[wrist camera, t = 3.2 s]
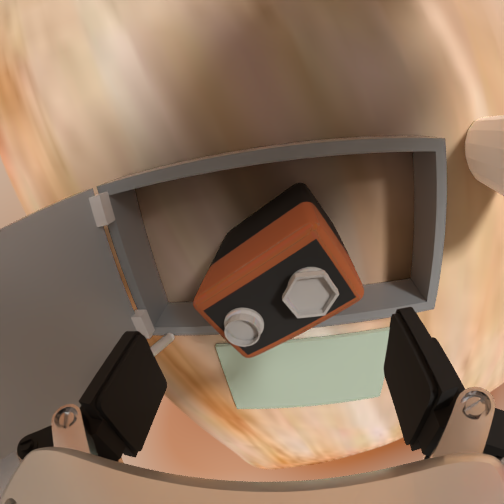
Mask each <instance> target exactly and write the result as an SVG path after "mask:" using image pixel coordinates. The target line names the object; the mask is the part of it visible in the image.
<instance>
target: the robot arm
mask: <svg viewBox="0 0 504 504" xmlns="http://www.w3.org/2000/svg"><path fill="white" fill-rule="evenodd" d="M384 375H385V378H386V381H387V384H388V387H389V390H390V394H391V397H392V400H393V403H394V406H395V410H396V413H397V416H398V420H399V423H400V426H401V430H402V434H403V437H404V441H405V443H406V445H409V444H410V446H411V450H412V451H414V450H417V449H420V448H421V450H422V453H423V454H424V455H425V456H424V457H423V459H422V460H421V461H417V462H413V463H408V464H404V465H400V466H396V467H391V468H387V469H383V470H378V471H372V472H367V473H361V474H355V475H349V476H343V477H336V478H328V479H318V480H306V481H290V482H243V481H225V480H213V479H204V478H195V477H188V476H182V475H175V474H169V473H164V472H159V471H154V470H149V469H145V468H140V467H136V466H132V465H128V464H124V463H123V460H122V458H121V456H122V454H123V453H124V455H128V456H132V457H136V455H137V453H138V451H141V450H142V448H143V445H144V442H145V440H146V437H147V435H148V432H149V430H150V427H151V425H152V422H153V420H154V417H155V415H156V413H157V410H158V408H159V405H160V403H161V400H162V398H163V395H164V393H165V391H166V388H167V382H166V379H165V377H164V375H163V373H162V371H161V369H160V367H159V365H158V363H157V361H156V359H155V357H154V355H153V353H152V351H151V348H150V346H149V344H148V342H147V340H146V337H145V336H144V335H142V334H141V333H140V332H139V331H126V332H125V333H124V334H123V335H122V337H121V338H120V340H119V341H118V342H117V344H116V345H115V347H114V348H113V350H112V351H111V353H110V354H109V355H108V357H107V358H106V360H105V361H104V363H103V364H102V366H101V367H100V369H99V370H98V372H97V373H96V375H95V376H94V378H93V379H92V381H91V383H90V384H89V386H88V387H87V389H86V390H85V392H84V393H83V395H82V396H81V398H80V400H79V401H78V402H79V403H80V404H81V407H80V408H79V407H78V406H77V405H74V404H66V405H63V406H61V407H60V408H58V409H57V410H56V411H55V413H54V414H53V416H52V420H51V426H48V427H46V428H43V429H41V430H39V431H36V432H34V433H31V434H29V435H26V436H25V437H23V438H22V439H21V440H20V442H19V443H18V447H17V452H16V451H15V450H14V451H13V452H11V453H10V454H9V455H7V456H6V457H5V458H3V459H2V460H1V461H0V504H504V411H503V410H500V409H497V408H495V401H494V398H493V396H492V395H491V394H490V393H489V392H488V391H487V390H485V389H483V388H479V387H472V388H468V389H466V390H465V388H464V386H463V384H462V383H461V381H460V379H459V377H458V375H457V373H456V372H455V370H454V368H453V366H452V364H451V363H450V361H449V359H448V357H447V356H446V354H445V352H444V351H443V349H442V347H441V346H440V344H439V342H438V341H437V340H436V338H431V336H430V334H429V333H428V331H427V329H426V328H425V326H424V325H423V323H422V321H421V320H420V318H419V317H418V315H417V314H416V312H415V310H414V309H413V308H412V307H406V308H401V309H397V310H396V313H395V314H392V316H391V322H390V330H389V337H388V344H387V350H386V356H385V362H384Z"/></svg>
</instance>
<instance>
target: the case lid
mask: <svg viewBox="0 0 504 504" xmlns="http://www.w3.org/2000/svg"><path fill="white" fill-rule="evenodd" d="M92 196H95V195H94V192H93V188H92V189H89V190H85V191H83V192H80V193H78V194H75V195H73V196H70V197H68V198H65V199H63V200H61V201H58V202H56V203H54V204H51V205H49V206H47V207H45V208H42V209H40V210H38V211H36V212H34V213H32V214H30V215H27V216H25V217H23V218H21V219H19V220H17V221H15V222H13V223H11V224H9V225H8V226H5V227H3V228H2V229H0V461H1V460H2V459H3V458H5V457H6V456H7V455H9V454H10V453H11V452H13V451H14V450H15V451H16V452H17V447H18V443H19V442H20V440H21V439H22V438H23V437H25V436H26V435H29V434H31V433H34V432H36V431H39V430H41V429H43V428H46V427H48V426H51V420H52V416H53V414H54V413H55V411H56V410H57V409H58V408H60V407H61V406H63V405H66V404H74V405H77V406H78V407H79V408H80V407H81V404H80V403H79V402H78V401H79V400H80V398H81V396H82V395H83V393H84V392H85V390H86V389H87V387H88V386H89V384H90V383H91V381H92V379H93V378H94V376H95V375H96V373H97V372H98V370H99V369H100V367H101V366H102V364H103V363H104V361H105V360H106V358H107V357H108V355H109V354H110V353H111V351H112V350H113V348H114V347H115V345H116V344H117V342H118V341H119V340H120V338H121V337H122V335H123V334H124V333H125V332H126V331H137V330H136V328H135V326H134V324H133V321H132V319H131V316H133V315H134V314H135V312H134V310H133V308H132V305H131V303H130V300H129V298H128V295H127V293H126V290H125V288H124V285H123V283H122V280H121V277H120V275H119V272H118V269H117V266H116V264H115V261H114V258H113V255H112V252H111V249H110V246H109V243H108V240H107V237H106V234H105V230H104V227H103V226H101V227H97V225H96V222H95V219H94V215H93V212H92V208H91V205H90V201H89V198H90V197H92Z"/></svg>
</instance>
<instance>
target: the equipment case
mask: <svg viewBox="0 0 504 504" xmlns="http://www.w3.org/2000/svg"><path fill="white" fill-rule="evenodd" d="M383 152H413V167H414V237H413V254H412V266H411V277H410V278H409V279H403V280H396V281H389V282H382V283H375V284H368V285H363V288H364V295H363V297H362V299H361V300H359V301H358V302H356V303H355V304H353V305H351V306H350V307H348V308H346V309H345V310H343V311H341V312H339V313H338V314H336V315H334V316H332V317H331V318H329V319H327V320H325V321H323V322H322V323H320V324H318V325H316V326H314V327H323V326H332V325H340V324H348V323H355V322H362V321H369V320H376V319H382V318H388V317H391V316H392V314H395V313H396V310H397V309H401V308H406V307H412V308H413V309H414V310H415V312H421V311H427V310H431V309H434V307H435V302H436V296H437V291H438V285H439V279H440V272H441V265H442V257H443V248H444V238H445V225H446V205H447V162H446V143H445V138H437V137H429V136H369V137H350V138H336V139H324V140H313V141H303V142H295V143H286V144H278V145H271V146H264V147H257V148H251V149H245V150H239V151H233V152H227V153H222V154H216V155H211V156H206V157H201V158H196V159H192V160H187V161H183V162H178V163H174V164H170V165H165V166H161V167H157V168H153V169H149V170H145V171H142V172H138V173H134V174H131V175H127V176H123V177H121V178H118V179H115V180H113V181H110V182H107V183H105V184H102V185H100V186H97V189H98V193H99V194H96V195H95V196H92V197H90V198H89V201H90V205H91V208H92V212H93V215H94V219H95V222H96V225H97V227H101V226H105V225H108V229H109V232H110V235H111V238H112V241H113V244H114V247H115V250H116V253H117V256H118V259H119V262H120V265H121V268H122V271H123V273H124V276H125V279H126V281H127V284H128V287H129V289H130V292H131V294H132V297H133V299H134V302H135V304H136V307H137V309H138V310H135V311H134V312H135V314H134V315H133V316H131V319H132V321H133V324H134V326H135V328H136V330H137V331H139V332H140V333H141V334H142V335H144V336H145V337H146V338H151V337H152V335H165V336H163V337H162V338H161V339H160V340H158V341H157V342H156V343H155V344H154V345H152V346H151V347H150V348H151V351H152V353H153V355H154V357H155V356H156V355H157V354H158V353H159V352H161V351H162V350H163V349H164V348H165V347H166V346H168V345H169V344H170V343H171V342H172V341H173V340H174V335H216V334H219V333H218V332H217V331H216V330H215V329H214V328H213V327H212V326H211V325H210V324H209V323H208V322H207V321H206V320H205V319H204V318H203V317H202V316H201V315H200V314H199V313H198V311H197V310H196V309H195V308H194V306H193V301H191V302H173V303H169V302H168V300H167V297H166V294H165V291H164V288H163V285H162V282H161V279H160V276H159V273H158V270H157V267H156V264H155V261H154V257H153V254H152V251H151V248H150V244H149V241H148V238H147V234H146V231H145V227H144V224H143V220H142V216H141V213H140V209H139V205H138V201H137V197H136V193H135V189H136V188H140V187H144V186H148V185H153V184H157V183H161V182H166V181H170V180H175V179H180V178H184V177H189V176H194V175H200V174H205V173H210V172H216V171H221V170H227V169H233V168H239V167H245V166H252V165H258V164H265V163H273V162H280V161H288V160H296V159H305V158H315V157H325V156H336V155H349V154H364V153H383ZM314 327H312V328H314Z"/></svg>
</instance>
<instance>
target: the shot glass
mask: <svg viewBox="0 0 504 504" xmlns="http://www.w3.org/2000/svg"><path fill="white" fill-rule="evenodd" d="M465 157H466V160H467V163H468V167H469V170H470V171H471V173H472V174H473V176H474V177H475V179H476V180H478V181H480V182H481V183H483V184H484V185H486V186H488V187H489V188H491V189H493V190H494V191H496V192H498V193H499V194H501V195H503V196H504V115H499V116H489V117H481V118H479V119H477V120H475V121H474V122H473V123H472V125H471V126H470V128H469V129H468V132H467V136H466V140H465Z"/></svg>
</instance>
